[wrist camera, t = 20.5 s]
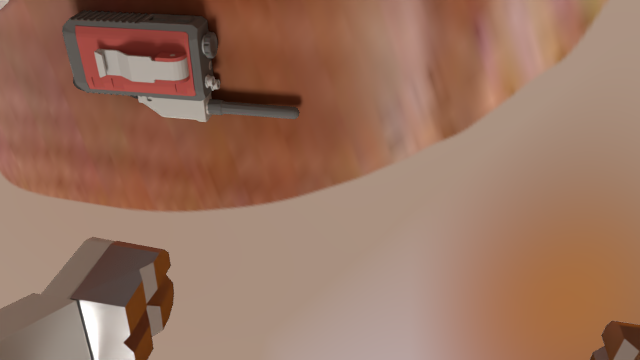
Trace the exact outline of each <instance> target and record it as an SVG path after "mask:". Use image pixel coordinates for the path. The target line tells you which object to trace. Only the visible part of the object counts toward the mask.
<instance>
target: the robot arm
mask: <svg viewBox="0 0 640 360" xmlns="http://www.w3.org/2000/svg"><path fill="white" fill-rule="evenodd" d="M8 1H9V0H0V9H2V8H3V7H4V6H5V5H6V4H7V3H8ZM170 266H171V264H170V257H169V252H167V251H166V250H163V249H158V248H153V247H147V246H142V245H136V244H131V243H126V242H120V241H111V240H106V239H101V238H96V237H92V238H89V239H87V240H86V241H84V243H83V244H82V245H81V246H80V248H79V249H78V250H77V251H76V252H75V253H74V255H73V256H72V257H71V258H70V260H69V261H68V262H67V263H66V264H65V266H64V267H63V268H62V270H61V271H60V272H59V273H58V274H57V275H56V276H55V278H54V279H53V280H52V281H51V283H50V284H49V285H48V286H47V287H46V289H45V290H44V291H43V292H42V294H35V293H33V294H31V295H28V296H27V297H24V298H23V299H20V300H18V301H16V302H14V303H12V304H10V305H8V306H6V307H3V308H1V309H0V360H148V358H149V356H150V354H151V352H152V350H153V341H152V337H153V336H154V335H156V334H158V333H159V332H160V331H162V330H163V329H164V327H165V325H166V323H167V321H168V319H169V317H170V313H171V310H172V306H173V299H174V287H173V282H172V281H171V280H170V279H169V278H168V276H167V275H166V273H167V272H168V270H169V268H170ZM601 336H602V339H603V342H604V345H605V346H604V347H602V348H600V349H598V350H596V351H595V352H593V353H592V356H591V358H590V360H640V325H638V324H632V323H624V322H618V321H611V322H610V323H609V324H607V326H606V327H605V329H604V331H603V333H602V335H601Z"/></svg>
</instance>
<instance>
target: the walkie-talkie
mask: <svg viewBox="0 0 640 360" xmlns="http://www.w3.org/2000/svg"><path fill="white" fill-rule="evenodd" d="M62 32H63V37H64V41H65V45H66V49H67V53H68V57H69V61H70V65H71V69H72V73H73V76H74V77H73V83H74V85H75V86H76V87H77V88H78V89H80V90H83V91H86V92H87V93H89V92H92V93H98V94H100V93H104V94H110V95H112V94H116V95H119V94H121V95H128V96H132V97H134V98H136V99H138V100H139V103H144V104H145V105H147V106H148V107H150V108H151V109H152V110H154V111H155V112H157V113H158V114H159V115H161V116H163V117H170V118H182V119H195V120H197V121H200V122H207V121H208V120H209V118H210V117H211V115H212V114H216V115H223V114H237V115H249V116H262V117H275V118H287V119H296V118H297V117H298V116H299V110H298V109H297V108H296V107H289V106H276V105H262V104H249V103H236V102H224V101H223V100H216V99H212V97H211V91H214V90H215V89H219V88H220V81H219V80H216V79H215V78H214V76H213V67H212V58H214V57H215V56H216V53H217V48H218V41H217V37H216V34H215V33H214V32H209V31H208V22H207V20H206V19H205V18H204V17H202V16H188V15H169V14H150V15H147V13H145V14H141V13H138V14H135V13H131V14H129V13H128V12H126V13H122V12H119V13H116V12H113V13H110V11H108V12H104V11H101V12H98V11H94V12H92V11H91V10H89V11H85V10H84V11H82V12H80V13H78V14H77V15H75V16H73V17H71V18H70V19H69V20H68V21H67V22H66V23H65V24H64V25H63V31H62Z"/></svg>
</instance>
